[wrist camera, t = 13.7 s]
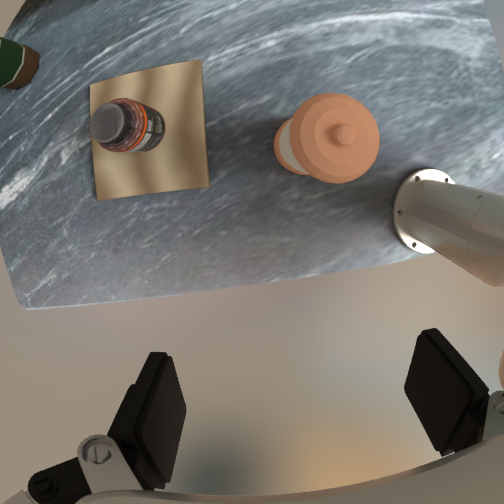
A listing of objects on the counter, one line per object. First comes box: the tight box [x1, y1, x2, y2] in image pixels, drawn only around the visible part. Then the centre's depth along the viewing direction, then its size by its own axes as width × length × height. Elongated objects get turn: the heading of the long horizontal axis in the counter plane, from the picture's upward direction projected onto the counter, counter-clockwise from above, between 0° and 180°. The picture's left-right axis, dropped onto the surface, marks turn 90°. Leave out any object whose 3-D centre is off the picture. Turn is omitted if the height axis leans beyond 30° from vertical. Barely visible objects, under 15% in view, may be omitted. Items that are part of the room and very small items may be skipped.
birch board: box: [90, 60, 210, 201], centre depth 35 cm, size 16×17×1 cm
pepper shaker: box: [273, 93, 380, 184], centre depth 27 cm, size 7×7×19 cm
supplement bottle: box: [89, 98, 166, 152], centre depth 29 cm, size 6×6×11 cm
